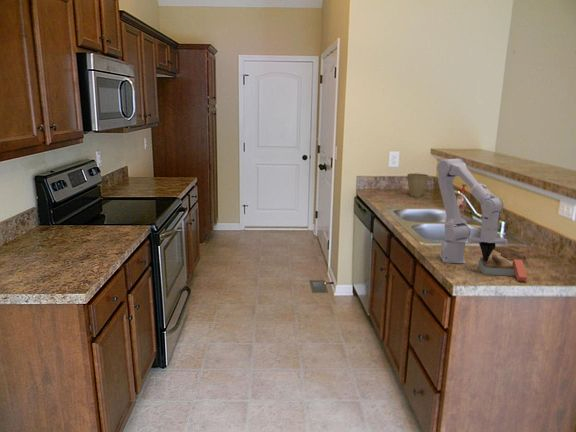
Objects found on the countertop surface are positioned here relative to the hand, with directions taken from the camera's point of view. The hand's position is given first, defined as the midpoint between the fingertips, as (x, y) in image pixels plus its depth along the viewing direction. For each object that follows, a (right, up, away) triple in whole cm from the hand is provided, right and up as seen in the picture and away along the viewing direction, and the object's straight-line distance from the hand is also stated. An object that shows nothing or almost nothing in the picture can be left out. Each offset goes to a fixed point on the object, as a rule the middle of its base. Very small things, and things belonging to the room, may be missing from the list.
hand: (485, 260), depth 183 cm
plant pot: (+15, +32, +152) cm, 156 cm away
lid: (+5, -2, 0) cm, 5 cm away
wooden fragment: (+22, 0, +22) cm, 31 cm away
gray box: (+6, -5, +1) cm, 8 cm away
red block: (+11, -4, -6) cm, 13 cm away
